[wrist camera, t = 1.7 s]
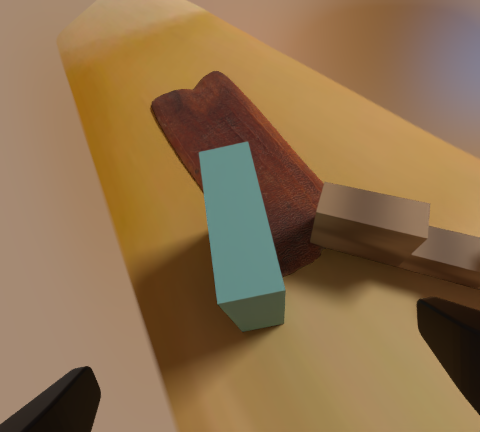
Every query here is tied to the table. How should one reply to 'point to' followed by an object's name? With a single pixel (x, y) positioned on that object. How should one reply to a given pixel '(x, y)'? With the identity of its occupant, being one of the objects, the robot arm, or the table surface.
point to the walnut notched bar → (394, 234)
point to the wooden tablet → (263, 154)
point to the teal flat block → (241, 239)
